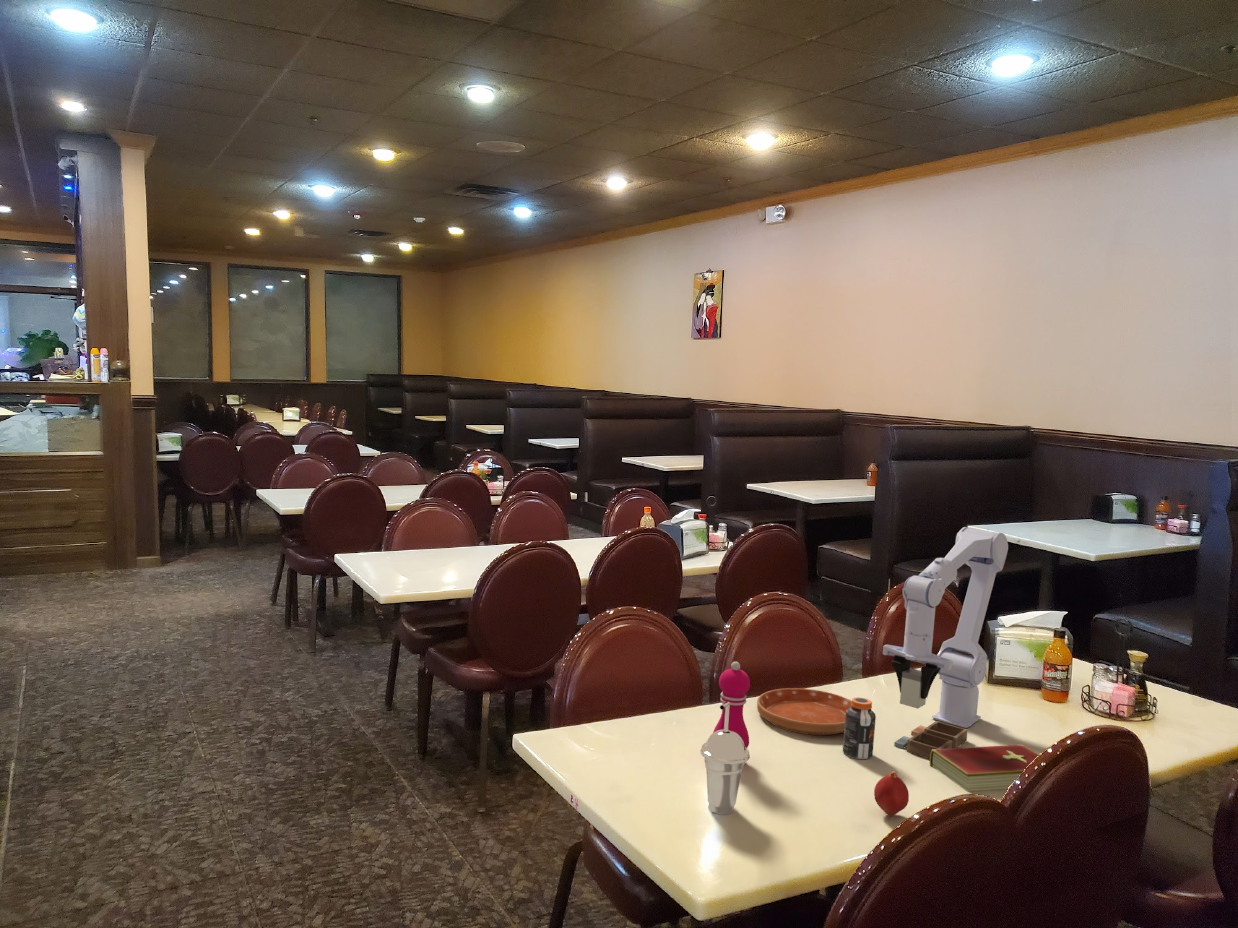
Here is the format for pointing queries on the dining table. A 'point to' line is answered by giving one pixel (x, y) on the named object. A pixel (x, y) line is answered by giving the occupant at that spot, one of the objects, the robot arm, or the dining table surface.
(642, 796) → the dining table surface
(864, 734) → the pill bottle
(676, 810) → the dining table surface
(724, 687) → the pepper mill
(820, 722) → the saucer
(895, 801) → the onion
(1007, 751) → the hardcover book
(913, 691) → the plug
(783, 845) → the dining table surface
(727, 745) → the cup with straw
